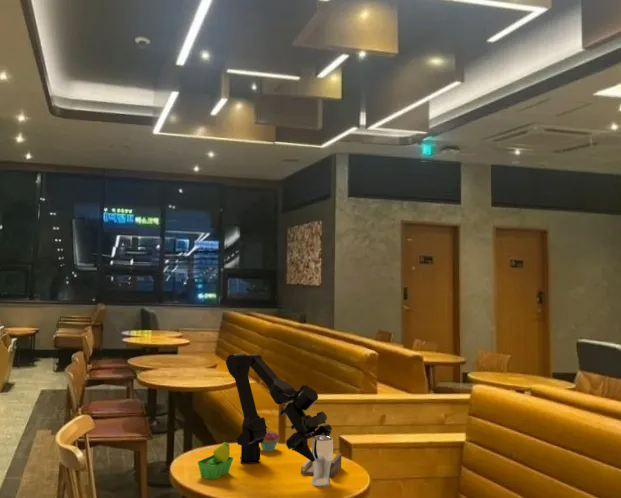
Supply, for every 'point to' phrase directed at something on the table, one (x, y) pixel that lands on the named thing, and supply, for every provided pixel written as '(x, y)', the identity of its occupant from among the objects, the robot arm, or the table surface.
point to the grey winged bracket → (334, 468)
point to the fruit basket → (216, 463)
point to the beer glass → (322, 460)
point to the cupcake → (270, 440)
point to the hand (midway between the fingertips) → (322, 458)
